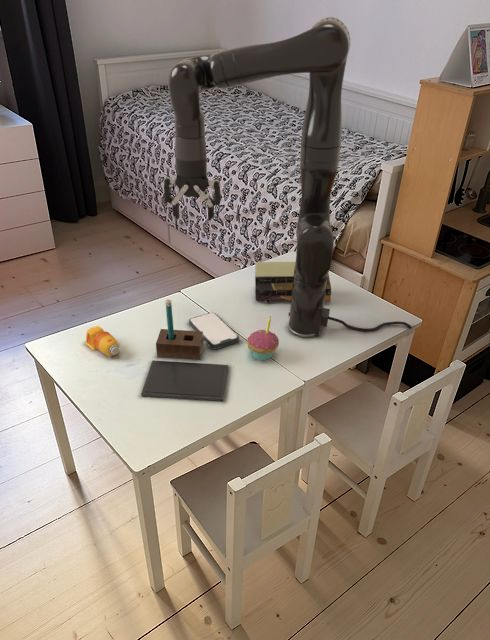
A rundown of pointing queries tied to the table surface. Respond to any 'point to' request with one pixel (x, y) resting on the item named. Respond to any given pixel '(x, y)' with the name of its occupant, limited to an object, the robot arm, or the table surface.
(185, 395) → the tablet
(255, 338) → the cupcake
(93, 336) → the toy figure
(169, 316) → the stylus
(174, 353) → the pen stand
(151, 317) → the table surface
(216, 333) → the smartphone
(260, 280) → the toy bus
